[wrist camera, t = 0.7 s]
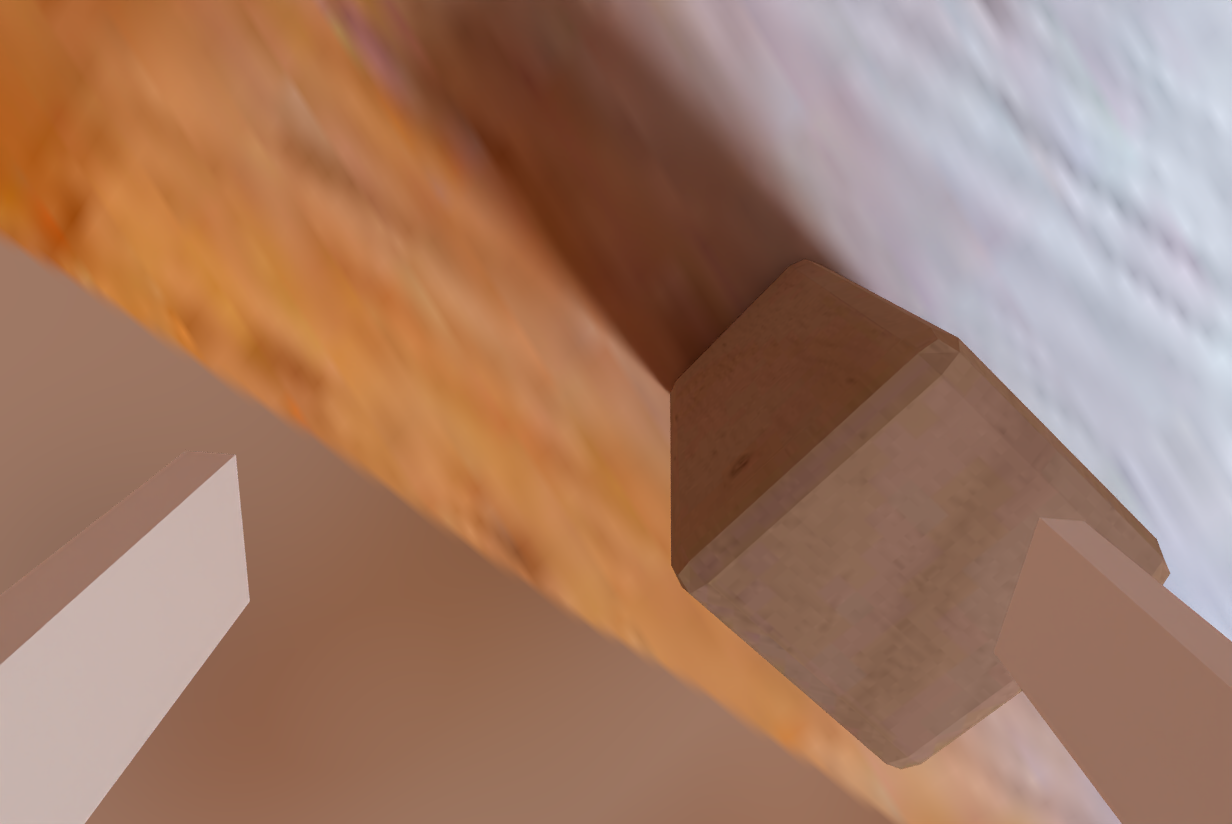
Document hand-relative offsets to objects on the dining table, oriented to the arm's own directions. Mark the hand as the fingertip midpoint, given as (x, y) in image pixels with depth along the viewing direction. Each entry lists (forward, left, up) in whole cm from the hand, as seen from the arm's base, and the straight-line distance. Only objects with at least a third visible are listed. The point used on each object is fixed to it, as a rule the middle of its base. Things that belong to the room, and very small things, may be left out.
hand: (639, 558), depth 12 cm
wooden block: (+3, +8, -27) cm, 28 cm away
